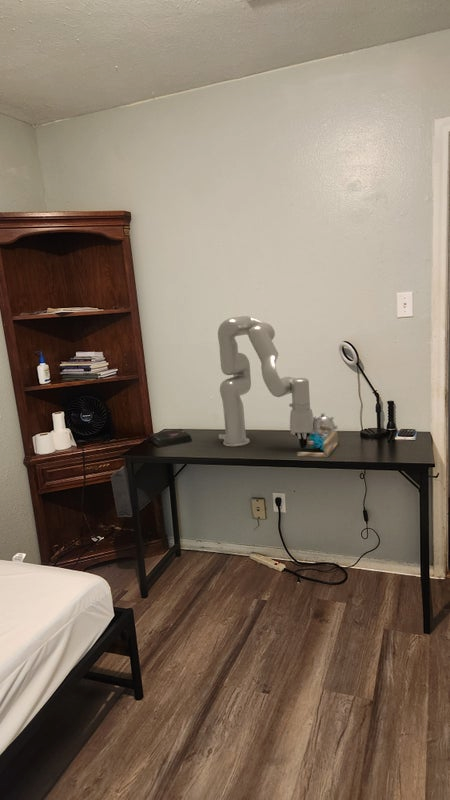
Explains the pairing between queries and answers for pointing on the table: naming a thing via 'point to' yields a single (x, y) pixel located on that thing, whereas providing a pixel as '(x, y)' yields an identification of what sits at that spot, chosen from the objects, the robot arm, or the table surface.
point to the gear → (324, 426)
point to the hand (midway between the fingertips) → (303, 447)
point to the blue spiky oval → (317, 441)
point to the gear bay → (327, 446)
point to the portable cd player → (170, 438)
